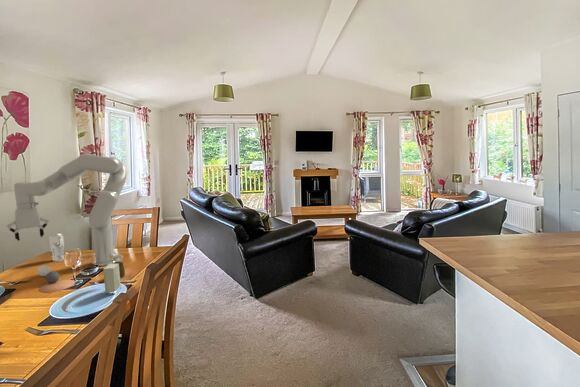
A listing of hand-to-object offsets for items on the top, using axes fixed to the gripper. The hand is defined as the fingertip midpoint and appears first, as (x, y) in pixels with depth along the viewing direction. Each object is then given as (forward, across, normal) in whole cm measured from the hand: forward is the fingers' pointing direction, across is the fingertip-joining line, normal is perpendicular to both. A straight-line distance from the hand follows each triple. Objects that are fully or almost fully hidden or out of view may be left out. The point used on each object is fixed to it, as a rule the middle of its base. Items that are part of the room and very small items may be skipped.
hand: (30, 238), depth 175 cm
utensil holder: (+18, -29, +40) cm, 53 cm away
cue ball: (+15, -3, +11) cm, 19 cm away
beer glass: (+18, -13, -14) cm, 26 cm away
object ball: (+15, -4, +25) cm, 30 cm away
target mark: (+18, -5, +32) cm, 37 cm away
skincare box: (+18, -22, +58) cm, 65 cm away
